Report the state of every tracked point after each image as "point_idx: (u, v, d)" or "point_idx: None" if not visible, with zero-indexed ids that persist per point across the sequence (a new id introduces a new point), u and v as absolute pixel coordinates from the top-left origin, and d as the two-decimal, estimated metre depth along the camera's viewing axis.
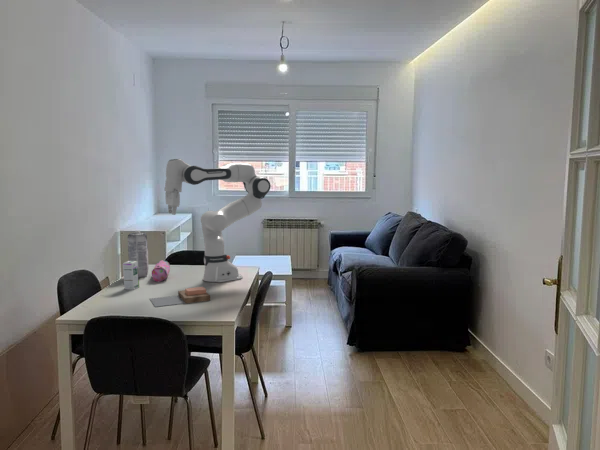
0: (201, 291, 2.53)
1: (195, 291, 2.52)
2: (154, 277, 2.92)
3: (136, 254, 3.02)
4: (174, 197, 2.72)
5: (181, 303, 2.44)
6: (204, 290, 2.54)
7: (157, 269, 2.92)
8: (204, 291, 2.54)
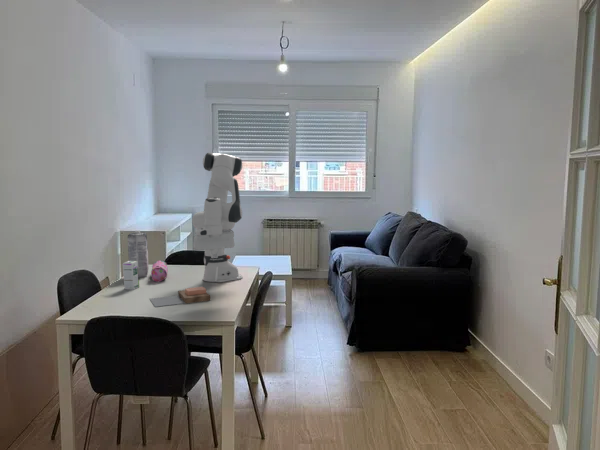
0: (201, 291, 2.53)
1: (195, 291, 2.52)
2: (154, 277, 2.91)
3: (136, 254, 3.02)
4: (233, 238, 2.59)
5: (181, 303, 2.44)
6: (204, 290, 2.54)
7: (157, 269, 2.92)
8: (204, 291, 2.54)
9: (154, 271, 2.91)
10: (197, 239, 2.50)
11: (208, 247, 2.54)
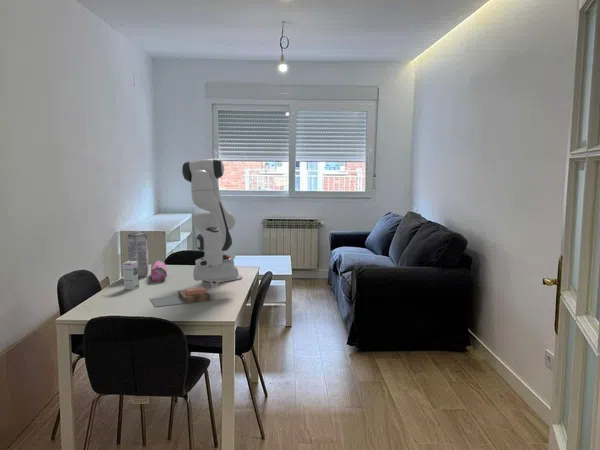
0: (201, 291, 2.53)
1: (195, 291, 2.52)
2: (154, 277, 2.91)
3: (136, 254, 3.02)
4: (233, 267, 2.61)
5: (181, 303, 2.44)
6: (204, 290, 2.54)
7: (156, 269, 2.92)
8: (204, 291, 2.54)
9: (154, 271, 2.91)
10: (197, 269, 2.52)
11: (208, 277, 2.55)
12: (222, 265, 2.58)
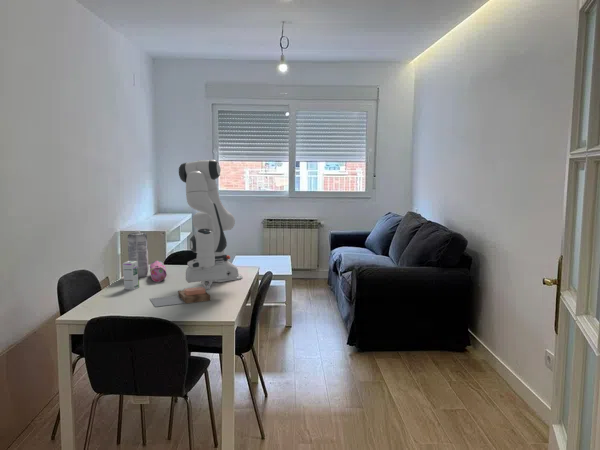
0: (200, 291, 2.53)
1: (194, 291, 2.52)
2: (153, 277, 2.91)
3: (136, 254, 3.01)
4: (225, 269, 2.59)
5: (181, 303, 2.44)
6: (203, 290, 2.54)
7: (156, 269, 2.91)
8: (203, 291, 2.54)
9: (154, 271, 2.91)
10: (189, 271, 2.50)
11: (200, 279, 2.54)
12: (214, 267, 2.56)
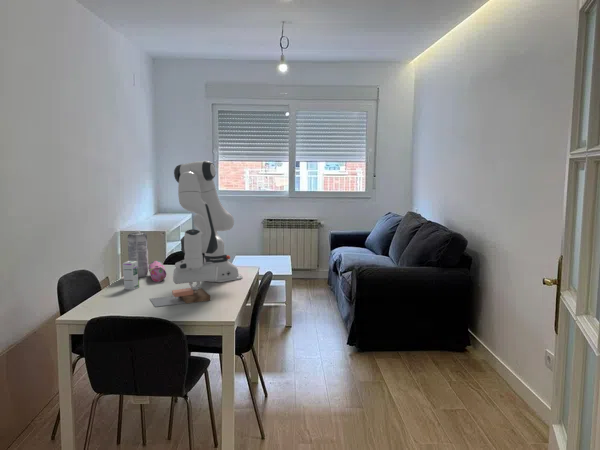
0: (188, 292, 2.50)
1: (182, 293, 2.49)
2: (153, 277, 2.91)
3: (136, 254, 3.02)
4: (213, 270, 2.57)
5: (181, 303, 2.44)
6: (191, 291, 2.51)
7: (156, 269, 2.91)
8: (191, 292, 2.51)
9: (153, 271, 2.91)
10: (177, 272, 2.48)
11: (188, 280, 2.51)
12: (202, 268, 2.53)
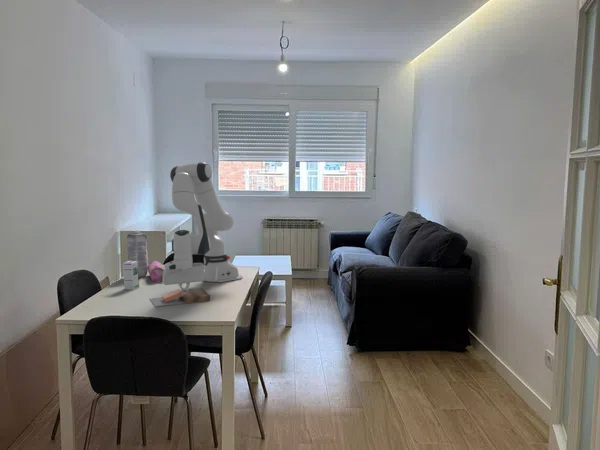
0: (177, 295, 2.48)
1: (171, 297, 2.47)
2: (153, 277, 2.91)
3: (135, 254, 3.01)
4: (203, 271, 2.55)
5: (181, 303, 2.44)
6: (180, 293, 2.49)
7: (156, 269, 2.91)
8: (181, 294, 2.49)
9: (153, 271, 2.91)
10: (166, 273, 2.46)
11: (177, 281, 2.49)
12: (192, 269, 2.51)
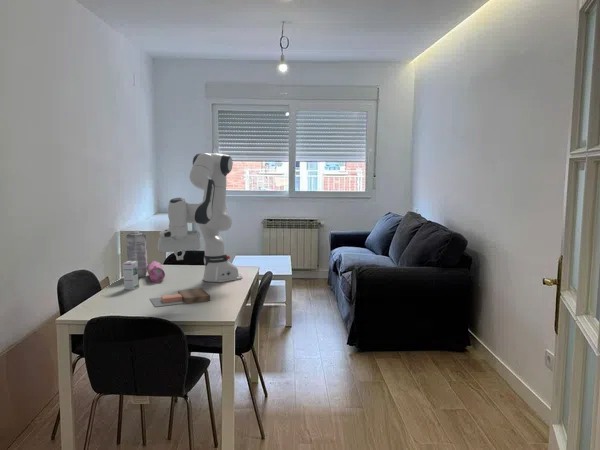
0: (177, 298, 2.48)
1: (171, 298, 2.47)
2: (152, 278, 2.91)
3: (135, 254, 3.01)
4: None
5: (181, 303, 2.44)
6: (180, 297, 2.49)
7: (155, 269, 2.91)
8: (180, 298, 2.49)
9: (152, 271, 2.90)
10: (161, 241, 2.45)
11: (173, 249, 2.48)
12: (187, 237, 2.50)
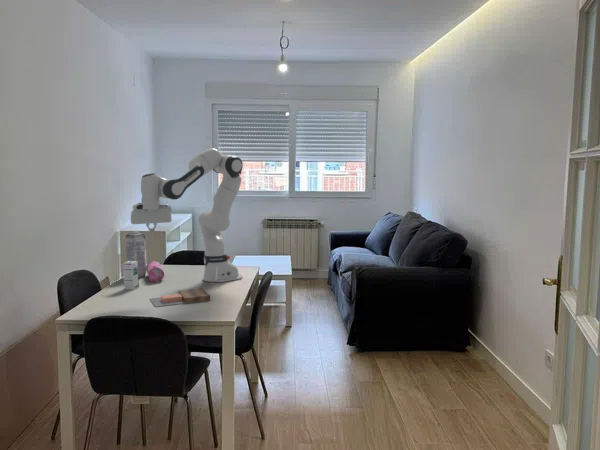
0: (177, 298, 2.48)
1: (171, 298, 2.47)
2: (151, 278, 2.90)
3: (134, 254, 3.01)
4: (170, 213, 2.69)
5: (181, 303, 2.44)
6: (180, 297, 2.49)
7: (154, 269, 2.91)
8: (180, 298, 2.49)
9: (151, 271, 2.90)
10: (133, 213, 2.60)
11: (145, 221, 2.63)
12: (159, 210, 2.65)
